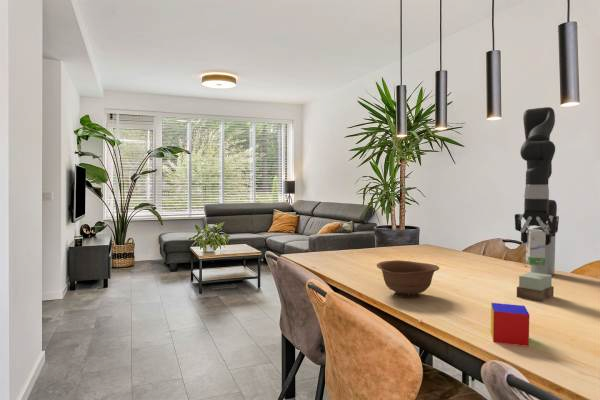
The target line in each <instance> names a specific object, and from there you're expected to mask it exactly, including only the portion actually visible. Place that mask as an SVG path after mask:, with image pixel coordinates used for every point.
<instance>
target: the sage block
mask: <svg viewBox="0 0 600 400" xmlns="http://www.w3.org/2000/svg"><path fill="white" fill-rule="evenodd" d="M518 277H519V279H518V286H519V287H521V288H527V289H533V290H538V291H541V290H544V289H546V288H549V287H551V286H552V285H553V283H552V280H553V279H552V278H553V275H546V274H540V273H533V272H531V271H530V272H527V273H525V274H520V275H518Z"/></svg>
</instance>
